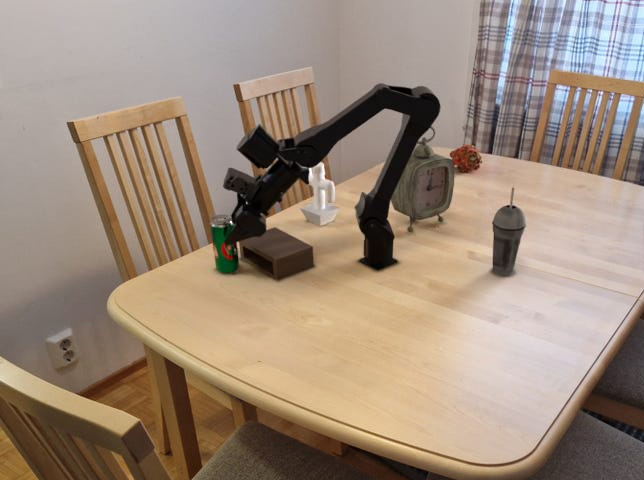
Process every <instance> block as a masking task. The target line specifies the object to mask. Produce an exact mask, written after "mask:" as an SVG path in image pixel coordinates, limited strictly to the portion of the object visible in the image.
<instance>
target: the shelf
mask: <svg viewBox="0 0 644 480" xmlns="http://www.w3.org/2000/svg"><path fill="white" fill-rule="evenodd" d="M238 244H239V245H238V246H239V252H240V254H239V255H240V260H242V261H244V262H245V263H247V264H248V265H250V266H253V267H254V268H255V269H257V270H259V271H261V272H262V273H264V274H266V275H267V276H269V277H270V278H272V279H274V280H276V281H281V280H282V279H285V278H289V277H291V276H294V275H296V274H299V273H301V272H304V271H306V270H309V269H311V268H314V267H315V263H314V246H313V245H311V244H309V243H307V242H305V241H303V240H301V239H299V238H297V237H296V236H293V235H291V234H289V233H287V232H285V231H283V230H282V229H280V228H278V227H276V226H274V227H271V228H268V229H266V232H265V233H264V234H263V235H262V236H261V237H252V238H248V239H245V240H242V241H239V242H238Z"/></svg>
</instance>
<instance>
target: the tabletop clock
mask: <svg viewBox="0 0 644 480" xmlns="http://www.w3.org/2000/svg"><path fill="white" fill-rule="evenodd" d="M430 129H431V130H432V136H431V137H430V138H428V139H427V137H425V136H424V137H423V136H422V137H421V140H420V141H419V140H418V142H417V144H418V145H416V147H415V149H414V151H413V153H412V155H411V157H410V159H409V162H408V164H407V166H406V168H405V170H404V172H403V174H402V176H401V179H400V181H399V183H398V185H397V187H396V189H395V191H394V193H393V196H392V198H391V201H390V203H391V204H392V208H393V210H394V211H396V212H398V213H400V214H402V215H405V217H409V226H408V227H407V232H408V233H410V234H411V233H414V231H415V228H414V227H413V224H414V223H416V222H417V221H423V220H425V219H430V218H434V217H436V216H437V217H438V218H437V221H438V222H439V223H441V224H442V223H443V222H445V218H444V217H443V216H442V215H441V214H443V213H444V212H446V211H447V210H448V209H449V208H450V206H451V203H452V200H453V194H454V186H455V166H454V163H453V160H451V159H452V158H449V157H446V156H443V155H440V154H438V153H435V152H434V150H433V148H432V146H431V145H429V144H428V143H430V142H432V141H433V139H434V138H435V136H436V129H435V127H434V126H433V125H432V126H431V127H430Z"/></svg>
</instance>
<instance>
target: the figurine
mask: <svg viewBox="0 0 644 480" xmlns="http://www.w3.org/2000/svg"><path fill="white" fill-rule="evenodd" d="M302 168H306V167H302ZM309 172H310V173H309V184H308V185H307V186H309V187H312V188H313V202H312V203H309V204H306V205H304V206H301V207H299V210H300V211H301V213H302V215H304V218H306V220H307V222H308V223H311V224H314V225H317V226H319V227H322V226H324V225H327V224H329V223H331V222H333V221H334V219H335V217H336V215H337V214H338V212H339V211H340V208H341V207H339V206H338V205H337V206H336V205H333V204H332V203H334V202H335V201H336V194H335V183H334V182H333V181H332V180H330V179H327V178H325V175H326V170H325V164H324V163H323V162H322V161H321V162H320V163H319V164H318V165H317V166H315V167H313V168H309Z"/></svg>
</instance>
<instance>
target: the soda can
mask: <svg viewBox="0 0 644 480" xmlns="http://www.w3.org/2000/svg"><path fill="white" fill-rule="evenodd" d="M234 225H235V224H234V221H233V220H232V217H231V216H230V215H229V214H215V215H214V216H211V218H210V222H209V228H210V237H211V242H212V251H213V257H214V263H215V264H214V265H215V269H216V270H217V272H219V273H220V274H227V275H228V274H233V273H235V272H237V271H238V270H239V269H240V259H239V252H238V251H239V250H238V242H236V243H233V244H231V245H226V244H225V243H224V241H225V239H226V237H227V236H228V234H229V233H230V231H231V230H232V228H233V227H234Z"/></svg>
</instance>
